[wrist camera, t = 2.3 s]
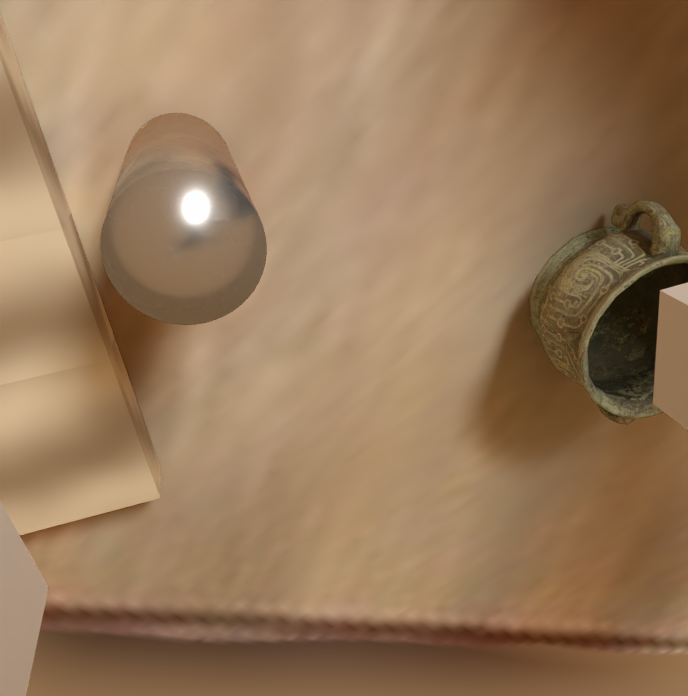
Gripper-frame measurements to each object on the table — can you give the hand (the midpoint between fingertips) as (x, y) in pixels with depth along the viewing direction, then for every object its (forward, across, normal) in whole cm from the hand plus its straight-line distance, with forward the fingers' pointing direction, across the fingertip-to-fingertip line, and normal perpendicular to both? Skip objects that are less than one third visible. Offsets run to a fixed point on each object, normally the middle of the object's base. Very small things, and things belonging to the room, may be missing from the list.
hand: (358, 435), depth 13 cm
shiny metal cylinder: (+19, -2, +2) cm, 20 cm away
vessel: (+20, +17, -9) cm, 28 cm away
